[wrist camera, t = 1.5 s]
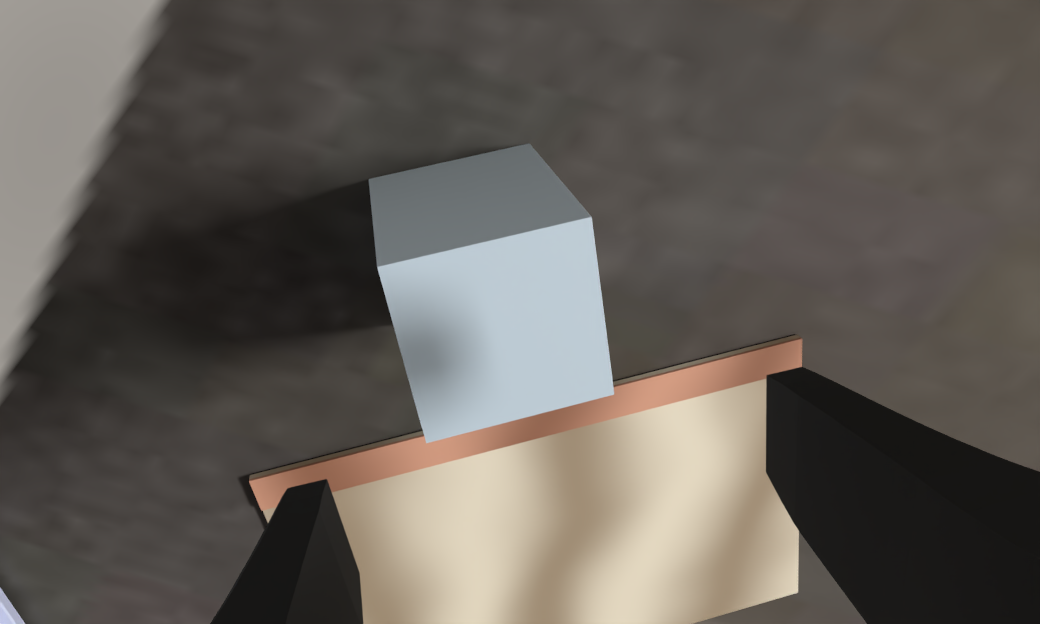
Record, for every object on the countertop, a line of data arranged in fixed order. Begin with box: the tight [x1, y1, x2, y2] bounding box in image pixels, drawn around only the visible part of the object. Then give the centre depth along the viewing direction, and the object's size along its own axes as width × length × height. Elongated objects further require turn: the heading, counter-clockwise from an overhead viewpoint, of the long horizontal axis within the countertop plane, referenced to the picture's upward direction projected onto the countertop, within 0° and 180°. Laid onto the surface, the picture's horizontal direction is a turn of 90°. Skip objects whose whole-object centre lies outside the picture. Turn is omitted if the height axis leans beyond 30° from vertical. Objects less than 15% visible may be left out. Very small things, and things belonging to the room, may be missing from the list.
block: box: [369, 144, 614, 443], centre depth 19 cm, size 4×4×6 cm
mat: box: [249, 335, 802, 624], centre depth 27 cm, size 18×12×1 cm, turn 99°
